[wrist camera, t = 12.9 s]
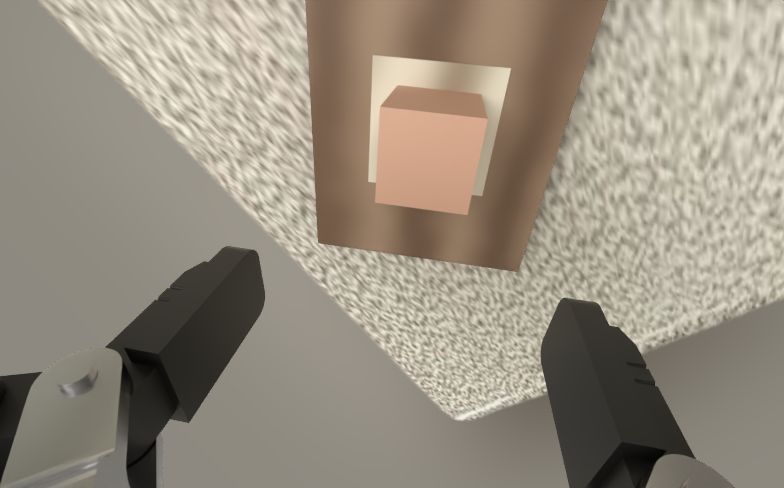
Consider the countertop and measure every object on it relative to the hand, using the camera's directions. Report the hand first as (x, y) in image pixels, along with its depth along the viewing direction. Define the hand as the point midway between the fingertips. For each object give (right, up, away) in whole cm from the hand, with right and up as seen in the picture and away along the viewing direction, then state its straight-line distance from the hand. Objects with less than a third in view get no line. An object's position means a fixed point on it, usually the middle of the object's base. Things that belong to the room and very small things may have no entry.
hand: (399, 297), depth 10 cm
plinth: (+3, +10, +16) cm, 19 cm away
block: (+2, +9, +13) cm, 16 cm away
